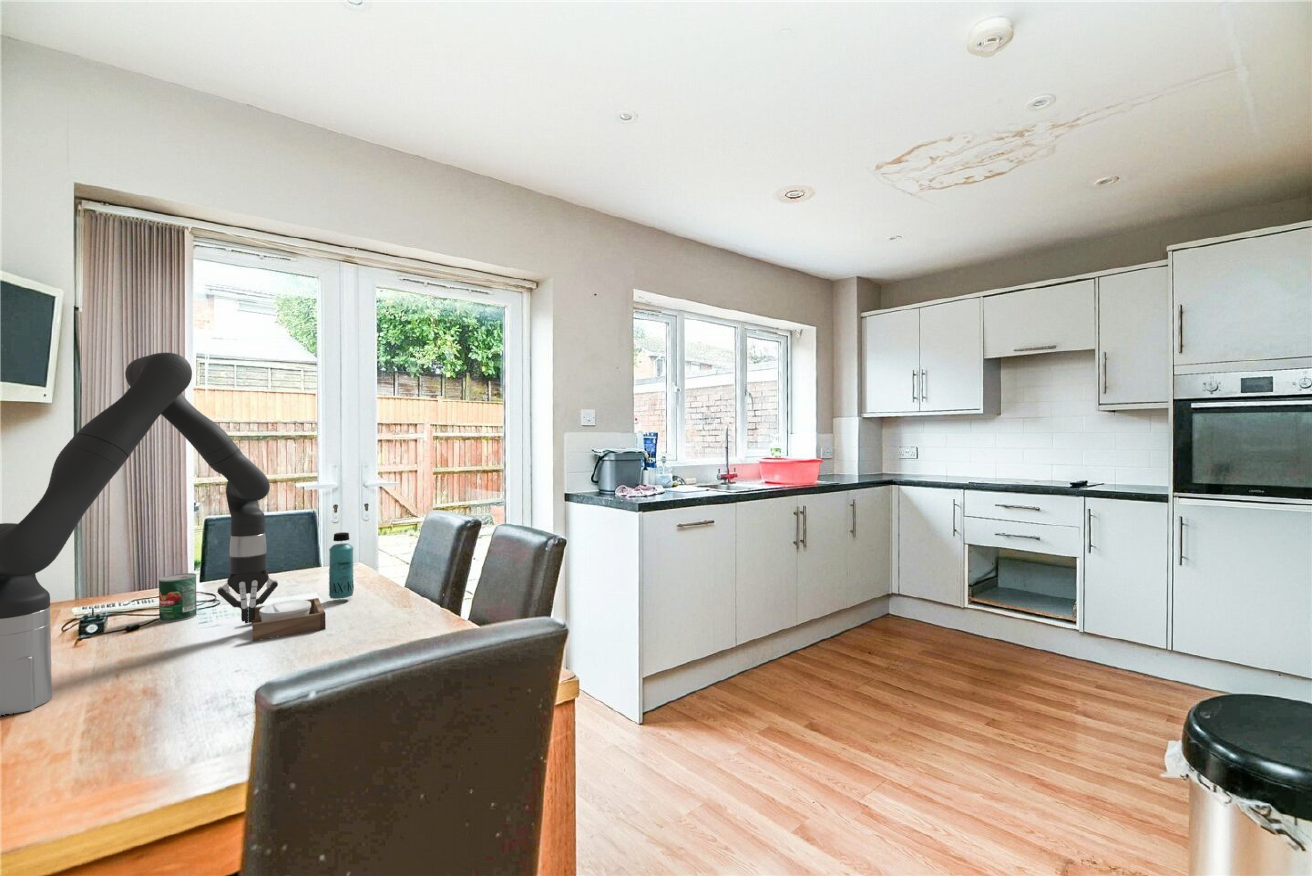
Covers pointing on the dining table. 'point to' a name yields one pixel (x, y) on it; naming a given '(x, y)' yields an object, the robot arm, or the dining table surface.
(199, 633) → the dining table surface
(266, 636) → the walnut bay
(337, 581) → the beverage bottle
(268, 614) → the ramekin
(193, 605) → the canned tomato
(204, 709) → the dining table surface
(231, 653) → the dining table surface
